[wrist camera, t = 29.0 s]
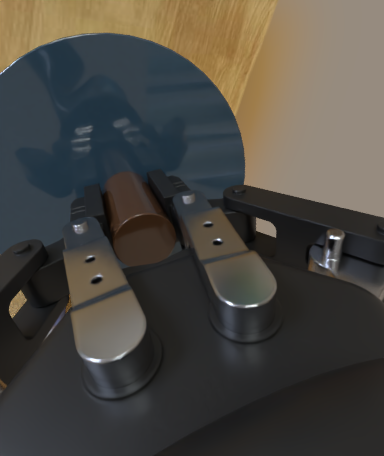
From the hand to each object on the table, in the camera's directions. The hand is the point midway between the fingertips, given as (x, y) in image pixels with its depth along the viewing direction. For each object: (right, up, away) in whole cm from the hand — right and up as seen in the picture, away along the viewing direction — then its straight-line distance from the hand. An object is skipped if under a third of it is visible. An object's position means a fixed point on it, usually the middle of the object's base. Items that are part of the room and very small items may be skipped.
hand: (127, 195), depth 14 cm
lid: (0, 0, +1) cm, 1 cm away
